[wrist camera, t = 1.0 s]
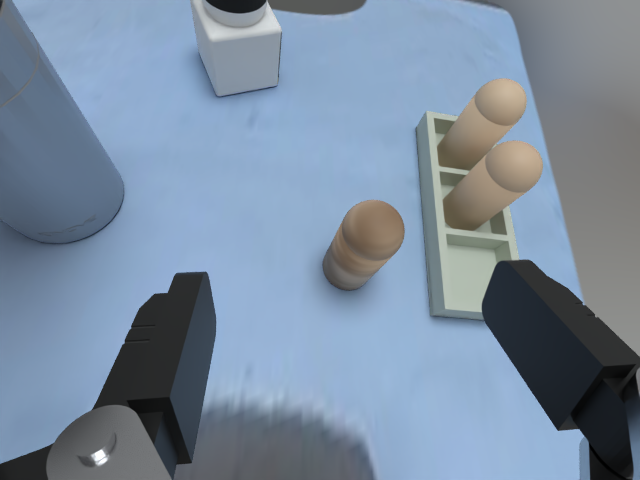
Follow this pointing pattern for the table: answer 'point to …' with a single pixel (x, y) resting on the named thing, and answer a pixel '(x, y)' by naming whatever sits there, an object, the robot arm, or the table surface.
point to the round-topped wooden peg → (363, 244)
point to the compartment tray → (472, 195)
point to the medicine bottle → (238, 44)
